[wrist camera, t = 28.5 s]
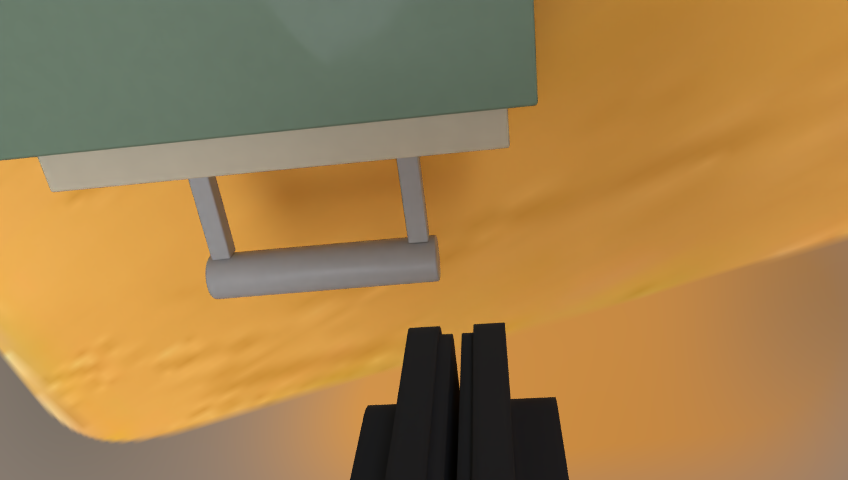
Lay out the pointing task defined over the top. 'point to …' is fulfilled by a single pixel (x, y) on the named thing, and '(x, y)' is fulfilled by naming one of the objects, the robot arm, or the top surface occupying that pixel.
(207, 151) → the drawer
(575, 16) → the top surface
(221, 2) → the cabinet
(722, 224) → the top surface
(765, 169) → the top surface
